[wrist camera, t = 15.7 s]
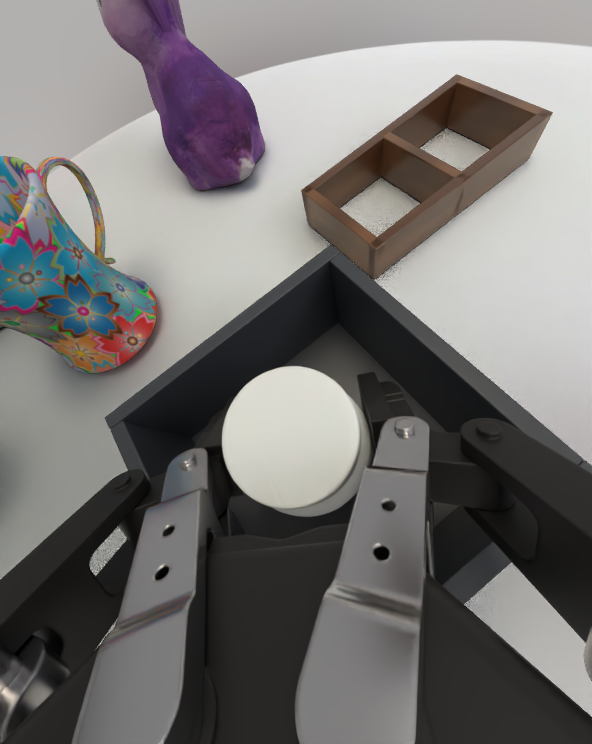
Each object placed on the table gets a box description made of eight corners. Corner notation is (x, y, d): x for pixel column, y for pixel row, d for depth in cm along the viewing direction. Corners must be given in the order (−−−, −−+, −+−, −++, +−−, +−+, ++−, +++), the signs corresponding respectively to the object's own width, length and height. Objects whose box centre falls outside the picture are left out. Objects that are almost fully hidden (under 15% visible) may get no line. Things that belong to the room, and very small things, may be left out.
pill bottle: (369, 415, 16) (375, 352, 8) (369, 510, 15) (378, 538, 7) (284, 412, 17) (222, 353, 10) (275, 501, 16) (193, 515, 8)
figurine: (180, 136, 32) (40, -131, 18) (272, 120, 29) (194, -200, 16) (159, 203, 28) (-30, -58, 15) (260, 190, 26) (150, -132, 12)
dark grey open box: (183, 437, 20) (103, 417, 14) (340, 314, 20) (331, 243, 14) (304, 656, 14) (263, 782, 8) (509, 479, 15) (607, 478, 9)
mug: (134, 395, 22) (-53, 323, 12) (46, 367, 24) (-166, 289, 14) (200, 261, 25) (95, 118, 15) (116, 249, 28) (-19, 120, 18)
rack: (307, 223, 24) (300, 190, 21) (446, 119, 25) (456, 73, 22) (374, 280, 21) (376, 249, 18) (529, 159, 22) (553, 111, 19)
